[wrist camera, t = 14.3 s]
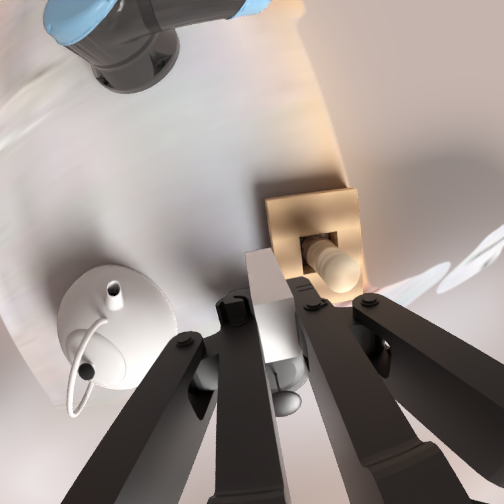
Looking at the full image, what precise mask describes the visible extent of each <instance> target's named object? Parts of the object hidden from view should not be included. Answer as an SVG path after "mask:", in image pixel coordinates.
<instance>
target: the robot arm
mask: <svg viewBox="0 0 504 504" xmlns="http://www.w3.org/2000/svg"><path fill="white" fill-rule="evenodd" d="M270 2H271V0H48V2H47V4H46V7H45V10H44V14H43V24H44V28H45V30H46V31H47V33H48V34H50V35H51V36H52V37H53V38H54V39H55V40H56V41H57V43H58V44H60V45H63V46H64V47H66V48H68V49H69V50H71V51H72V52H74V53H75V54H77V55H79V56H80V57H82V58H83V59H85V60H86V61H88V62H89V63H90V64H91V67H92V69H93V72H94V75H95V77H96V79H97V80H98V81H99V82H100V83H101V84H102V85H103V86H104V87H106V88H108V89H109V90H111V91H113V92H116V93H122V94H130V93H136V92H140V91H143V90H145V89H148V88H150V87H152V86H153V85H155V84H156V83H158V82H159V81H160V80H162V79H163V78H164V77H165V76H166V75H167V74H168V73H169V71H170V70H171V69H172V67H173V66H174V64H175V62H176V60H177V58H178V54H179V49H180V44H179V38H178V36H177V33H176V31H175V29H174V28H178V27H183V26H187V25H192V24H197V23H202V22H207V21H213V20H219V19H226V20H231V19H234V18H236V17H240V16H247V15H254V14H258V13H260V12H261V11H262V10H264V9H265V8H266V7H267V6H268V5H269V3H270ZM245 258H246V265H247V272H248V279H249V286H250V288H245V289H240V290H234V291H230V292H229V293H228V295H227V296H226V297H224V298H222V299H221V300H219V301H218V302H217V304H216V310H217V313H218V317H219V321H220V324H221V329H220V331H219V332H217V333H216V334H214V335H211V336H209V337H206V338H203V337H202V336H201V334H200V333H198V332H193V331H189V332H182V333H179V334H178V335H176V336H174V337H173V338H172V339H171V340H170V341H169V342H168V343H167V345H166V346H165V347H164V349H163V350H162V352H161V353H160V355H159V356H158V358H157V359H156V361H155V362H154V363H153V365H152V366H151V368H150V369H149V371H148V372H147V374H146V375H145V377H144V378H143V379H142V381H141V382H140V384H139V385H138V387H137V388H136V390H135V391H134V393H133V394H132V396H131V397H130V399H129V400H128V402H127V403H126V405H125V406H124V407H123V409H122V410H121V412H120V413H119V415H118V417H117V418H116V419H115V421H114V423H113V424H112V425H111V427H110V429H109V430H108V431H107V433H106V434H105V436H104V437H103V439H102V440H101V442H100V444H99V445H98V447H97V448H96V450H95V451H94V453H93V454H92V456H91V457H90V459H89V460H88V462H87V463H86V465H85V467H84V468H83V470H82V471H81V473H80V474H79V476H78V477H77V479H76V480H75V482H74V483H73V485H72V487H71V488H70V490H69V491H68V493H67V494H66V496H65V498H64V499H63V501H62V502H61V504H178V502H179V500H180V497H181V494H182V492H183V489H184V487H185V484H186V482H187V479H188V476H189V474H190V471H191V469H192V466H193V464H194V461H195V458H196V456H197V453H198V451H199V448H200V445H201V443H202V440H203V437H204V435H205V432H206V429H207V427H208V424H209V421H210V419H211V416H212V413H213V411H214V408H215V405H216V403H217V425H216V472H215V476H216V477H215V478H216V480H215V493H214V495H213V496H211V497H210V498H209V499H208V502H207V504H291V499H290V494H289V488H288V483H287V478H286V472H285V467H284V461H283V456H282V450H281V445H280V439H279V434H278V429H277V423H276V417H275V412H274V406H273V401H272V395H271V389H270V384H269V378H268V373H267V368H266V363H269V362H274V361H279V360H284V359H289V358H293V357H298V356H301V351H302V355H303V363H304V372H305V377H307V376H308V378H309V381H310V383H311V386H312V389H313V392H314V395H315V398H316V401H317V404H318V407H319V410H320V413H321V416H322V419H323V422H324V425H325V428H326V431H327V434H328V436H329V440H330V442H331V445H332V448H333V452H334V454H335V458H336V461H337V464H338V467H339V470H340V473H341V476H342V479H343V482H344V485H345V488H346V491H347V494H348V497H349V501H350V504H488V503H484V502H480V501H475V500H472V499H470V498H469V496H468V495H467V493H466V491H465V489H464V488H463V486H462V484H461V483H460V481H459V479H458V477H457V476H456V474H455V472H454V471H453V469H452V467H451V466H450V464H449V462H448V461H447V459H446V457H445V456H444V454H443V452H442V451H441V450H440V449H439V447H438V446H437V445H436V444H435V443H433V442H431V441H429V442H422V441H420V440H419V438H418V437H417V435H416V434H415V432H414V430H413V429H412V427H411V425H410V424H409V422H408V420H407V419H406V417H405V416H404V414H403V412H402V411H401V409H400V407H399V406H398V404H397V402H396V401H398V402H399V403H400V404H401V405H402V406H403V407H404V408H405V409H406V410H407V411H408V412H410V413H411V414H412V415H413V416H414V417H415V418H416V419H417V420H419V421H420V422H421V423H422V424H423V425H424V426H425V427H426V428H427V429H429V430H430V431H431V432H432V433H433V434H434V435H435V436H436V437H437V438H439V439H440V440H441V441H442V442H443V443H444V444H445V445H446V446H448V447H449V448H450V449H451V450H452V451H454V453H456V454H457V455H458V456H459V457H460V458H461V459H462V460H464V461H465V462H466V463H467V464H468V465H469V466H470V467H471V468H473V469H474V470H475V471H476V472H477V473H479V474H480V475H481V476H483V477H484V478H485V479H487V480H488V481H490V482H492V483H494V484H496V485H497V486H499V487H502V488H504V364H502V363H500V362H498V361H497V360H495V359H493V358H492V357H490V356H488V355H487V354H485V353H483V352H481V351H480V350H478V349H477V348H475V347H473V346H471V345H470V344H468V343H466V342H464V341H463V340H461V339H459V338H457V337H456V336H454V335H452V334H451V333H449V332H447V331H445V330H444V329H442V328H440V327H438V326H437V325H435V324H433V323H431V322H429V321H428V320H426V319H424V318H422V317H421V316H419V315H417V314H415V313H413V312H412V311H410V310H408V309H406V308H404V307H403V306H401V305H399V304H397V303H395V302H394V301H392V300H390V299H388V298H386V297H384V296H382V295H380V294H375V293H365V294H362V295H359V296H357V297H355V298H354V300H353V301H352V306H353V307H334V306H333V305H332V303H331V302H330V301H329V300H328V299H325V298H321V297H320V295H319V294H318V292H317V291H316V289H315V288H314V286H313V285H312V283H311V282H310V280H309V279H308V278H305V277H303V276H300V277H295V278H290V279H285V277H284V275H283V273H282V271H281V269H280V267H279V264H278V262H277V260H276V258H275V256H274V254H273V252H272V249H271V248H266V249H261V250H256V251H251V252H246V253H245ZM385 341H386V342H387V343H388V344H389V346H390V347H389V346H387V345H386V344H385ZM300 348H301V349H300ZM395 400H396V401H395Z"/></svg>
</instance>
